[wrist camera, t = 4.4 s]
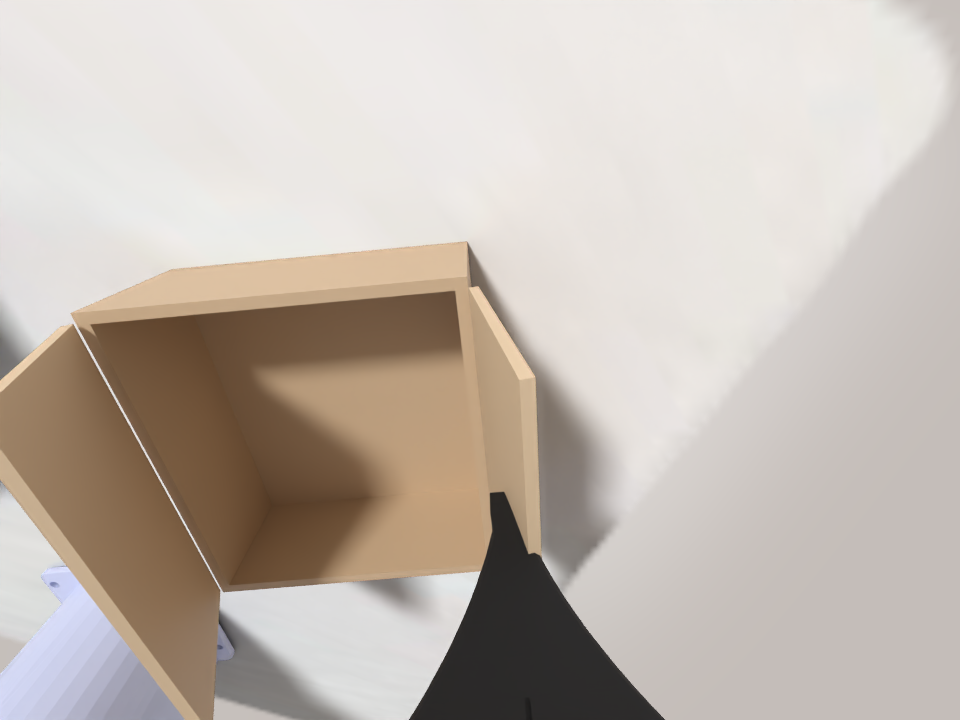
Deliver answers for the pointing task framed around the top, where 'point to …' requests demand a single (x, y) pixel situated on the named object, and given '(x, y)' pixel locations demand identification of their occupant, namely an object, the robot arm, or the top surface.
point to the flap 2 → (508, 418)
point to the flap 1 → (109, 516)
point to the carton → (309, 411)
